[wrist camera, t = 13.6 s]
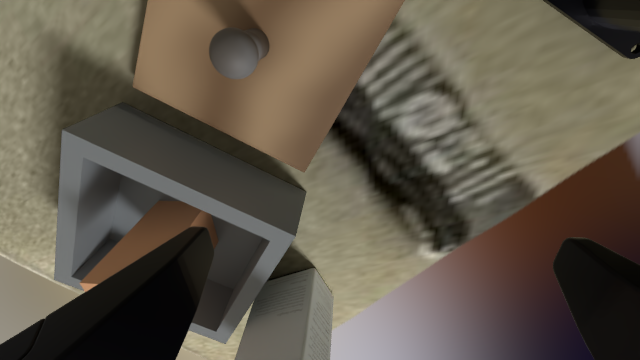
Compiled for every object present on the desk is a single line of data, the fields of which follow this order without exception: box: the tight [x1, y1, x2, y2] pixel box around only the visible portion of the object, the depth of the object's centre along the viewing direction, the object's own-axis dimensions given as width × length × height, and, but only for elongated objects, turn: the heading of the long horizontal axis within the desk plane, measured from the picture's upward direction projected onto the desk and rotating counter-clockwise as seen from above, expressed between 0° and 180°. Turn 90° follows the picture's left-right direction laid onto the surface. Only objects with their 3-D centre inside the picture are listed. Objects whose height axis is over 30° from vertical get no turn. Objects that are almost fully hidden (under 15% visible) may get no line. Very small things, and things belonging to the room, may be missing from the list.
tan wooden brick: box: [80, 201, 219, 292], centre depth 21 cm, size 4×4×8 cm
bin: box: [54, 102, 306, 344], centre depth 23 cm, size 14×14×5 cm
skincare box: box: [235, 268, 334, 360], centre depth 23 cm, size 6×4×12 cm
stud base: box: [133, 0, 405, 172], centre depth 15 cm, size 12×12×6 cm
